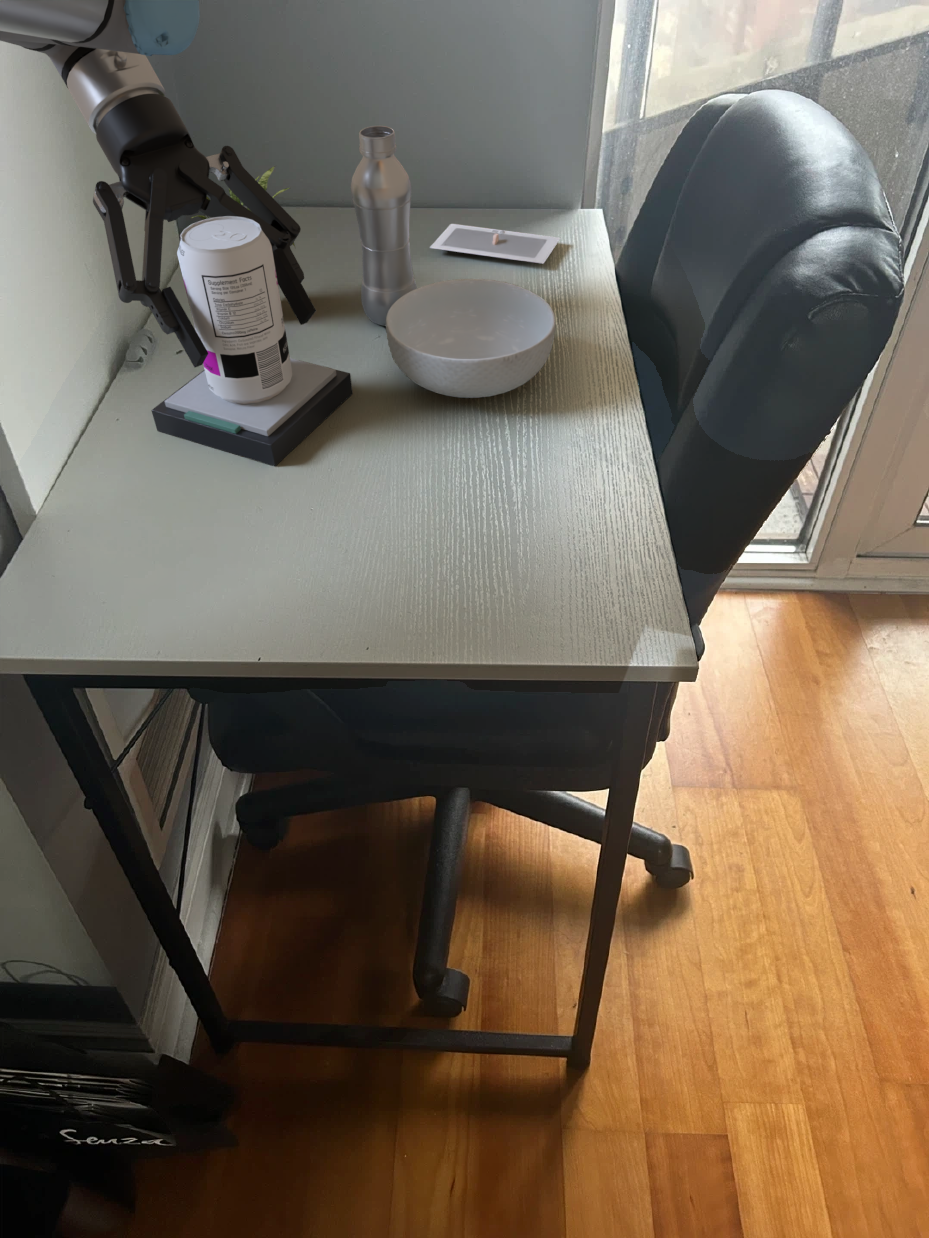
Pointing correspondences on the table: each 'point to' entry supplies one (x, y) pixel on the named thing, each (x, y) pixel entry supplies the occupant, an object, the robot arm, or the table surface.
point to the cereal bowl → (470, 336)
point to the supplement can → (236, 308)
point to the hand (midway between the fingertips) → (256, 339)
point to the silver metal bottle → (382, 222)
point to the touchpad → (496, 243)
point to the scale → (255, 413)
